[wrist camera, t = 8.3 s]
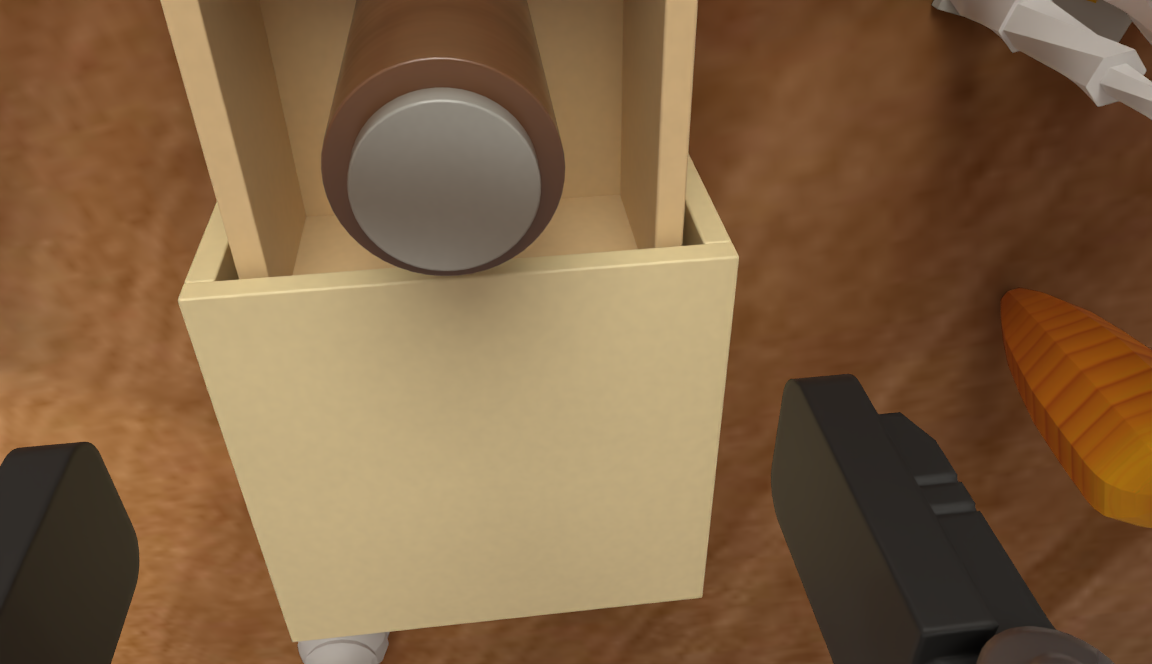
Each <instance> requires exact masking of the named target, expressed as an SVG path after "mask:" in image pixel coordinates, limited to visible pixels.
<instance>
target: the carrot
mask: <svg viewBox="0 0 1152 664" xmlns="http://www.w3.org/2000/svg"><path fill="white" fill-rule="evenodd" d="M1001 324H1002V336H1003V342H1004V347H1005V352H1006V357H1007V362H1008V366H1009V369H1010V371H1011V373H1012V376H1013V378H1014V381H1015V383H1016V385H1017V388H1018V390H1019V393H1020V395H1021V397H1022V399H1023V401H1024V403H1025V406H1026V408H1027V410H1028V412H1029V414H1030V416H1031V418H1032V420H1033V422H1034V424H1035V426H1036V427H1037V429H1038V430H1039V432H1040V433H1041V435H1042V436H1043V438H1044V439H1045V441H1046V443H1047V444H1048V446H1049V447H1050V449H1051V450H1052V452H1053V453H1054V455H1055V456H1056V458H1057V459H1058V461H1059V462H1060V464H1061V465H1062V466H1063V468H1064V469H1065V471H1066V472H1067V474H1068V475H1069V476H1070V478H1071V479H1072V481H1073V482H1074V483H1075V485H1076V486H1077V488H1078V489H1079V490H1080V492H1081V493H1082V495H1083V496H1084V497H1085V499H1086V500H1087V501H1088V503H1089V504H1090V505H1091V506H1092V507H1093V508H1094V509H1095V510H1097V511H1098V512H1100V513H1101V514H1103V515H1104V516H1107V517H1110V518H1113V519H1117V520H1120V521H1124V522H1127V523H1130V524H1134V525H1137V526H1141V527H1148V528H1152V350H1151V349H1149V348H1148V347H1146V346H1145V345H1143V344H1142V343H1140V342H1139V341H1137V340H1136V339H1134V338H1133V337H1131V336H1130V335H1128V334H1127V333H1125V332H1124V331H1122V330H1121V329H1119V328H1117V327H1116V326H1114V325H1112V324H1111V323H1109V322H1107V321H1106V320H1104V319H1102V318H1101V317H1099V316H1097V315H1095V314H1094V313H1092V312H1090V311H1088V310H1085V309H1083V308H1080V307H1078V306H1075V305H1073V304H1070V303H1068V302H1065V301H1063V300H1060V299H1058V298H1055V297H1053V296H1050V295H1048V294H1045V293H1043V292H1038V291H1034V290H1029V289H1024V288H1016V289H1013V290H1010V291H1007V292H1006V293H1005V295H1004V296H1003V298H1002V299H1001Z"/></svg>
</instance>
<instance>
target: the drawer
mask: <svg viewBox="0 0 1152 664" xmlns="http://www.w3.org/2000/svg"><path fill="white" fill-rule="evenodd" d="M160 1H161V5H162V8H163V12H164V15H165V19H166V22H167V26H168V30H169V33H170V37H171V40H172V44H173V47H174V51H175V54H176V58H177V61H178V65H179V69H180V72H181V76H182V79H183V83H184V86H185V90H186V93H187V97H188V100H189V104H190V107H191V111H192V115H193V118H194V122H195V125H196V129H197V132H198V136H199V139H200V143H201V146H202V150H203V154H204V157H205V161H206V164H207V168H208V171H209V175H210V178H211V182H212V185H213V189H214V193H215V196H216V200H217V203H218V207H219V210H220V214H221V217H222V221H223V224H224V228H225V232H226V235H227V239H228V242H229V246H230V249H231V253H232V256H233V260H234V263H235V267H236V270H237V274H238V278H239V279H252V278H265V277H278V276H291V275H305V274H318V273H331V272H344V271H357V270H371V269H384V268H397V267H396V266H394V265H392V264H389V263H387V262H385V261H383V260H381V259H380V258H378V257H376V256H375V255H373V254H371V253H370V252H369V251H367V250H366V249H365V248H363V247H362V246H361V245H360V244H359V243H358V242H357V241H356V240H355V239H354V238H352V237H351V236H350V235H349V233H348V232H347V231H346V230H345V228H344V227H343V226H342V225H341V223H340V222H339V220H338V219H337V217H336V215H335V214H334V212H333V210H332V208H331V206H330V203H329V201H328V199H327V196H326V193H325V189H324V186H323V181H322V173H321V152H322V146H323V140H324V136H325V132H326V127H327V123H328V119H329V115H330V110H331V106H332V102H333V98H334V93H335V89H336V85H337V81H338V76H339V72H340V68H341V63H342V59H343V55H344V51H345V46H346V42H347V38H348V34H349V29H350V25H351V21H352V17H353V12H354V8H355V4H356V0H160ZM527 3H528V7H529V11H530V15H531V19H532V23H533V27H534V31H535V35H536V39H537V44H538V48H539V52H540V56H541V60H542V64H543V68H544V72H545V76H546V80H547V85H548V89H549V93H550V97H551V101H552V105H553V109H554V113H555V117H556V121H557V126H558V130H559V134H560V138H561V142H562V146H563V150H564V157H565V181H564V187H563V192H562V196H561V199H560V202H559V205H558V207H557V209H556V211H555V213H554V215H553V217H552V219H551V221H550V222H549V224H548V225H547V227H546V228H545V230H544V231H543V232H542V233H541V234H540V236H539V237H538V238H537V239H536V240H535V241H534V242H533V243H532V244H531V245H530V246H528V247H527V248H526V249H525V250H524V251H523V252H521V253H520V254H518V255H517V256H515V257H514V258H512V259H516V258H529V257H543V256H556V255H569V254H582V253H596V252H609V251H622V250H635V249H648V248H662V247H675V246H682V243H683V228H684V212H685V196H686V181H687V165H688V150H689V134H690V119H691V103H692V88H693V72H694V57H695V41H696V26H697V10H698V0H527Z"/></svg>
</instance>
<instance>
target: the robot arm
mask: <svg viewBox="0 0 1152 664" xmlns="http://www.w3.org/2000/svg"><path fill="white" fill-rule="evenodd" d="M771 488H772V497H773V503H774V508H775V512H776V515H777V519H778V522H779V524H780V527H781V529H782V532H783V535H784V537H785V540H786V542H787V545H788V547H789V550H790V553H791V555H792V558H793V560H794V563H795V565H796V568H797V571H798V573H799V576H800V578H801V581H802V583H803V586H804V588H805V591H806V594H807V596H808V599H809V601H810V604H811V606H812V609H813V612H814V614H815V617H816V619H817V622H818V624H819V627H820V630H821V632H822V635H823V637H824V640H825V642H826V645H827V648H828V650H829V653H830V655H831V658H832V660H833V663H834V664H1114V663H1113V662H1112V661H1111V660H1110V659H1109V658H1108V657H1107V656H1105V655H1104V654H1103V653H1101V652H1100V651H1099V650H1097V649H1096V648H1094V647H1093V646H1091V645H1089V644H1088V643H1086V642H1084V641H1083V640H1080V639H1078V638H1076V637H1074V636H1072V635H1070V634H1067V633H1064V632H1061V631H1058V630H1056V629H1055V628H1054V627H1053V625H1052V624H1051V622H1050V621H1049V620H1048V618H1047V617H1046V615H1045V614H1044V612H1043V611H1042V609H1041V607H1040V606H1039V604H1038V603H1037V601H1036V599H1035V598H1034V596H1033V595H1032V593H1031V591H1030V590H1029V588H1028V587H1027V585H1026V583H1025V582H1024V580H1023V579H1022V577H1021V576H1020V574H1019V572H1018V571H1017V569H1016V568H1015V566H1014V564H1013V563H1012V561H1011V560H1010V558H1009V556H1008V555H1007V553H1006V552H1005V550H1004V548H1003V547H1002V545H1001V544H1000V542H999V541H998V539H997V537H996V536H995V534H994V533H993V531H992V529H991V528H990V526H989V525H988V523H987V521H986V520H985V518H984V517H983V515H982V513H981V512H980V511H976V509H975V502H974V501H973V499H972V498H971V496H970V494H969V493H968V491H967V490H966V488H965V486H964V485H963V483H962V482H958V480H957V474H956V472H955V471H954V469H953V467H952V466H951V464H950V463H949V461H948V459H947V458H946V456H945V455H944V453H943V451H942V450H941V448H940V447H939V445H938V444H937V442H936V440H934V439H933V438H932V437H930V436H929V435H928V434H927V433H925V432H924V431H923V430H922V429H920V428H919V427H918V426H917V425H915V424H914V423H913V422H912V421H910V420H909V419H908V418H907V417H905V416H904V415H903V414H902V413H900V412H898V413H888V414H878V413H877V412H876V410H875V408H874V407H873V405H872V403H871V401H870V400H869V398H868V396H867V394H866V393H865V391H864V389H863V387H862V386H861V384H860V382H859V381H858V379H857V378H856V377H855V376H853V375H852V374H842V375H831V376H820V377H809V378H799V379H790V380H789V381H788V382H787V383H786V385H785V388H784V392H783V397H782V404H781V410H780V417H779V423H778V430H777V436H776V443H775V449H774V456H773V462H772V470H771ZM138 573H139V547H138V541H137V537H136V533H135V530H134V528H133V526H132V523H131V521H130V519H129V517H128V515H127V512H126V510H125V508H124V506H123V504H122V501H121V499H120V497H119V495H118V492H117V490H116V488H115V486H114V484H113V481H112V479H111V477H110V475H109V473H108V470H107V468H106V466H105V464H104V462H103V459H102V457H101V455H100V453H99V451H98V450H97V449H96V447H95V446H94V445H93V444H91V443H89V442H77V443H66V444H55V445H44V446H33V447H23V448H17V449H14V450H12V451H11V452H10V453H9V454H8V455H7V456H6V458H5V459H4V461H3V462H2V464H1V466H0V664H111V661H112V658H113V655H114V652H115V649H116V646H117V643H118V640H119V637H120V634H121V631H122V628H123V624H124V621H125V618H126V615H127V612H128V609H129V606H130V603H131V600H132V597H133V594H134V591H135V587H136V584H137V579H138Z"/></svg>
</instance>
